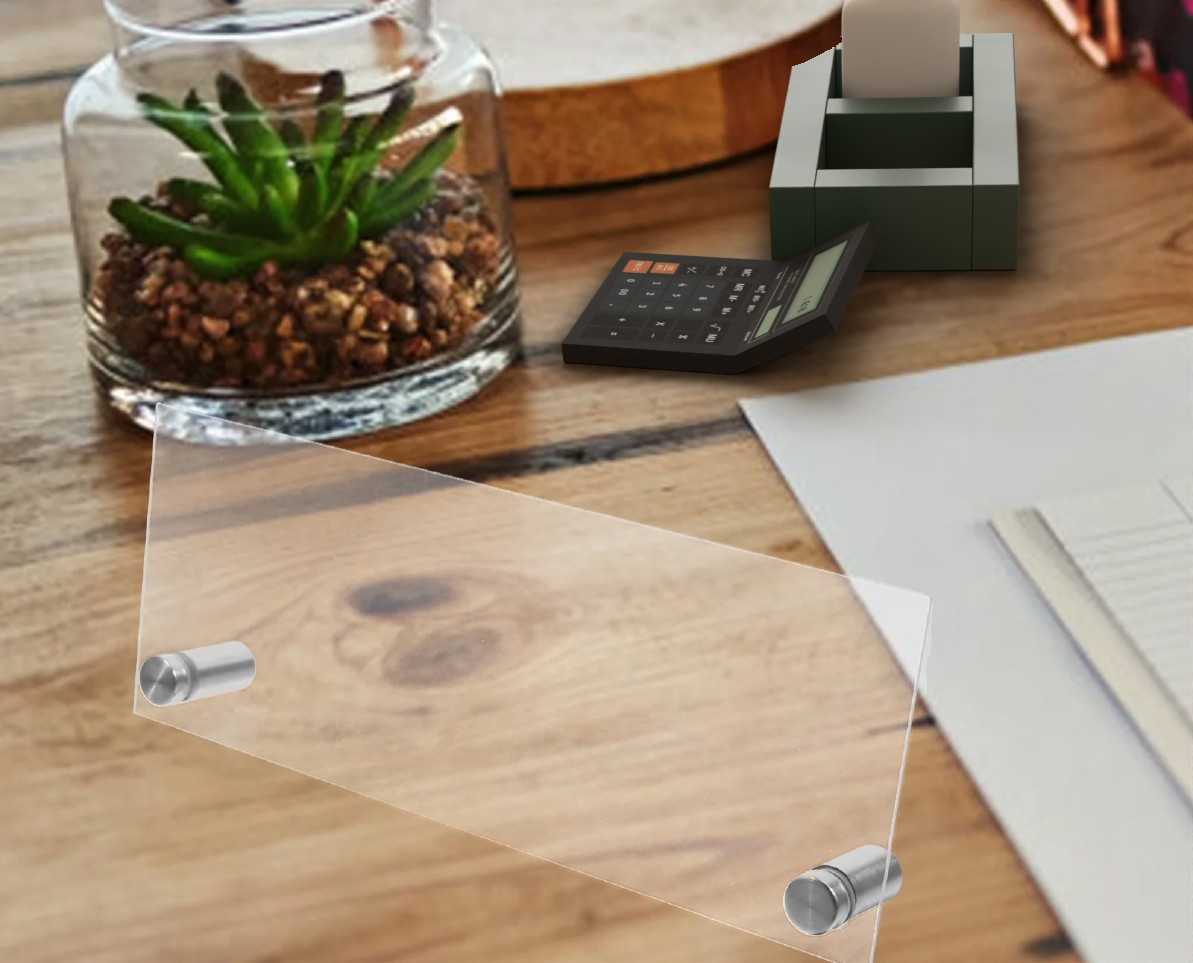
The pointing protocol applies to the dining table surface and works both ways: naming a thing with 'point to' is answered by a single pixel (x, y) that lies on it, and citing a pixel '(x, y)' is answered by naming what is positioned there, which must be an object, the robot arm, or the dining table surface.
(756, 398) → the dining table surface
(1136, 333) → the dining table surface
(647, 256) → the calculator
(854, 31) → the eye dropper bottle
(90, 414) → the dining table surface
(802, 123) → the rack
